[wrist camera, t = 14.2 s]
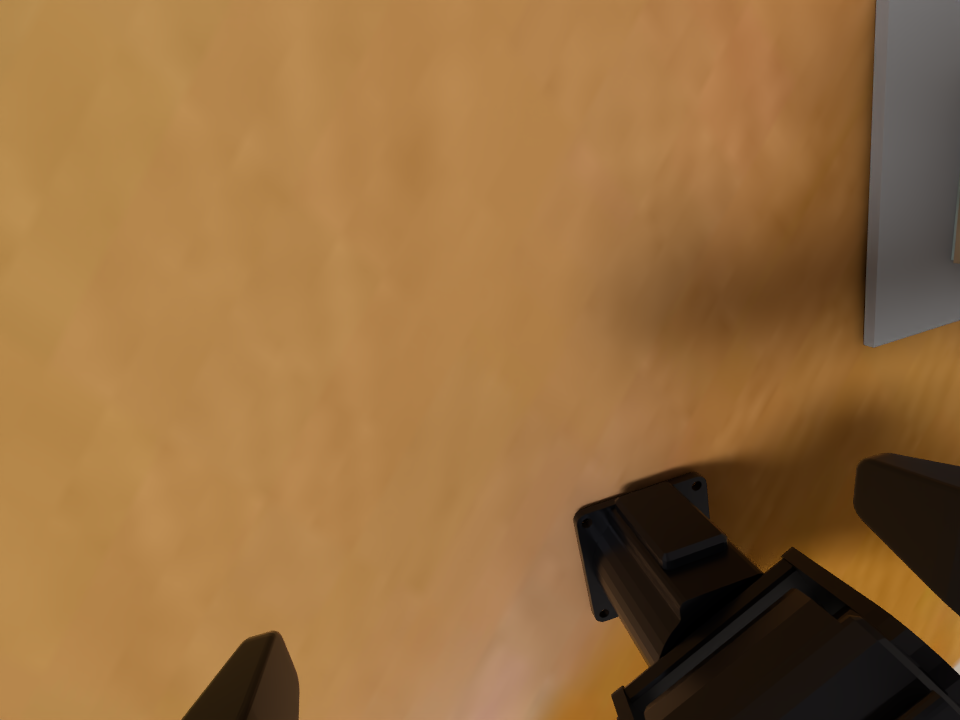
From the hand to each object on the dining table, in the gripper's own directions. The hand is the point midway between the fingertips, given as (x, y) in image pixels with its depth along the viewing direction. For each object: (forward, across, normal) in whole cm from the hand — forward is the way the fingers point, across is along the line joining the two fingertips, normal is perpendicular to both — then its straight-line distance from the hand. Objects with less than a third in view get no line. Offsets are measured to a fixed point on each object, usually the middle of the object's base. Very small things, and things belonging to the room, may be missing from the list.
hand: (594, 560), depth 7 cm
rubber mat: (+12, -24, -3) cm, 27 cm away
